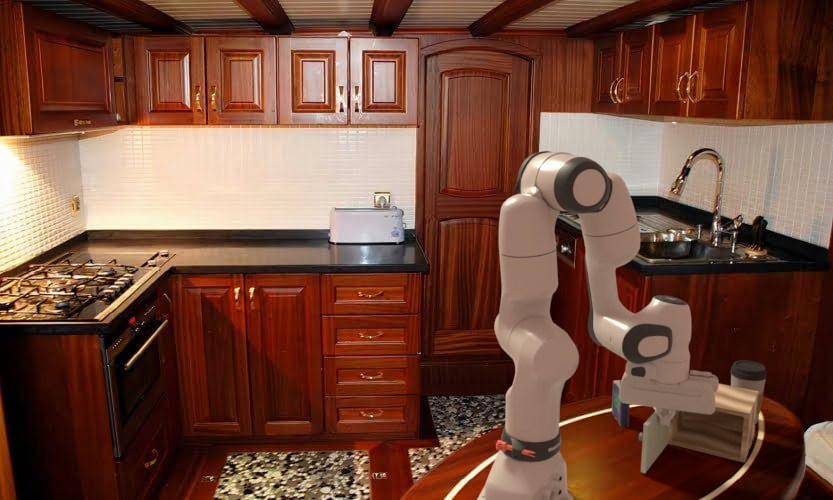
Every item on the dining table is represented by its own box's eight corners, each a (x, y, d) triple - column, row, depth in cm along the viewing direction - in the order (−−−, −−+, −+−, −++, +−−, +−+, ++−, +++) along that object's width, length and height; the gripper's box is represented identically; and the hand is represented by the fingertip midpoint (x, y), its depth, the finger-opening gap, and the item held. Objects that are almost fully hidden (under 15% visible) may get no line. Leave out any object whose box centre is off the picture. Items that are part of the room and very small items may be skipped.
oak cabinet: (744, 462, 160) (749, 413, 158) (667, 443, 169) (670, 397, 167) (754, 437, 172) (758, 391, 169) (681, 420, 181) (684, 376, 178)
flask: (610, 411, 187) (612, 373, 184) (621, 411, 187) (623, 373, 184) (620, 427, 178) (622, 388, 175) (632, 427, 178) (634, 387, 175)
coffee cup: (759, 431, 175) (765, 374, 171) (723, 423, 179) (728, 368, 176) (763, 418, 181) (769, 363, 178) (728, 411, 186) (733, 357, 182)
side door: (635, 470, 157) (638, 422, 154) (659, 440, 170) (662, 396, 167) (645, 473, 156) (648, 425, 153) (668, 443, 169) (671, 398, 166)
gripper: (719, 367, 154) (715, 425, 157) (622, 357, 162) (620, 412, 165) (719, 379, 148) (715, 439, 152) (618, 367, 156) (617, 424, 160)
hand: (665, 425), depth 158 cm, fingers closed
